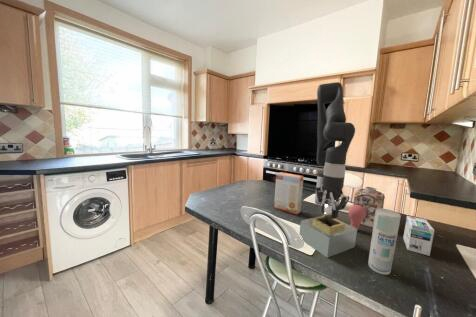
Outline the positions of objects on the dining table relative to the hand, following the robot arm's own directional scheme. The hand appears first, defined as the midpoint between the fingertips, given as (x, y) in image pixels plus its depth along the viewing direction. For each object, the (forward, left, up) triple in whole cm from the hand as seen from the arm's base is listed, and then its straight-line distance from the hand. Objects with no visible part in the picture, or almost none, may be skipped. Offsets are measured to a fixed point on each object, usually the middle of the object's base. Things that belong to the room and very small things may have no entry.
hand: (329, 215), depth 79 cm
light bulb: (-22, -2, -12) cm, 25 cm away
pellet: (0, 0, 0) cm, 0 cm away
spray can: (-4, +18, -12) cm, 22 cm away
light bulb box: (-32, +17, -12) cm, 38 cm away
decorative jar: (-36, -5, -12) cm, 38 cm away
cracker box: (-7, -32, -12) cm, 35 cm away
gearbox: (0, 0, -12) cm, 12 cm away
